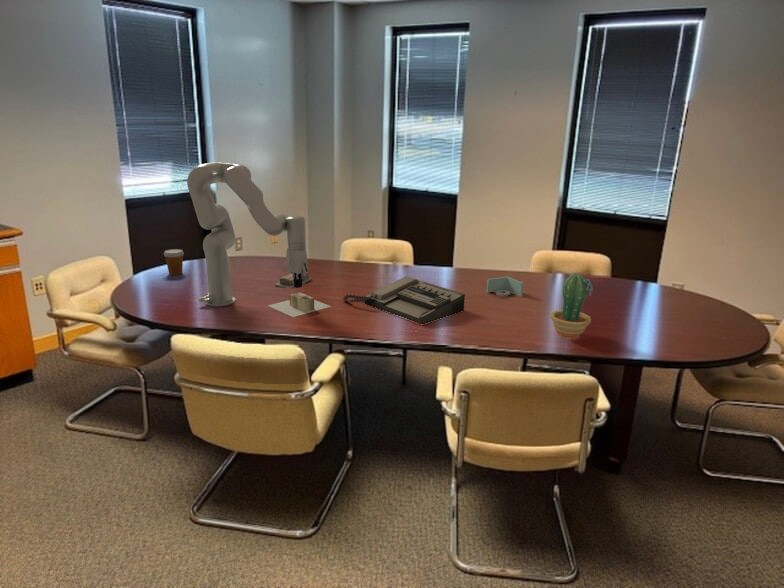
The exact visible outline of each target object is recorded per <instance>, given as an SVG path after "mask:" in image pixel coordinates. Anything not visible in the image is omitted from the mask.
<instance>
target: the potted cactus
mask: <svg viewBox="0 0 784 588" xmlns="http://www.w3.org/2000/svg"><path fill="white" fill-rule="evenodd" d="M588 292H589V294H588ZM593 292H594V288H593V284H592V282H591V280H590V279H589V278H585V277H584V275H582V274H581V273H579V274H577V273H573V274H571V275H570V276H569V277H567V278H566V280H565V281H564V282H563V283H562V298H563V305H562V306H563V307H562V310H561V309H560V310H559V309H558V310H554V311H552V312H550V314H549V315H550V318H551V319H550V320H551V321H552V323H553V327H554V329H555V330H556V333H557V334H556V336H557V335H558V336H560V337H564V338H571V339H575V338H578V337H580V338H581V334H582V333H584V332H585V331H586V329H587V328H588V325H590V324H591V322H592V318H591V316H590V315H588V314H586V313H584V312H581V311H582V307H583V304H584V302H585V300H586V299H587V296H588V295H589V296H591V295H592V293H593ZM558 336H557V337H558ZM560 337H559V338H560Z"/></svg>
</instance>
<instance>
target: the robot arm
mask: <svg viewBox="0 0 784 588" xmlns="http://www.w3.org/2000/svg"><path fill="white" fill-rule="evenodd" d="M186 181H187V182H186V183H187V190H188V191H189V194H190V198H191V201H192V204H193V205H192V206H193V207H194V211H195V214H196V217H197V221H198V224H199V225H200V227H201V228H203V229H204V230H211V231H212V232H210V233H208V234H207V235H206V236H205V237H204V238H203V242H202V248H203V249H202V250H203V251H204V257H205V263H206V271H207V272H206V274H207V286H208V292H207V293H206V295H205V296H202V297H201V296H200V297H198V302H200V303H202V302H204V303H205V304H206V305H207V306H209V307H215V308H216V307H218V308H219V307H220V308H221V307H228V306H231V305H233V304H234V303H235V302H236V297H234V296H232V295H233V293H232V283H231V282H232V279H231V278H232V277H231V266H230V258H229V256H228V252H227V251H228V250H230V249H231V248H233V246H234V245H235V244H236V243H235V242H236V232H235V230H234V227H233V224H232V221H231V217H230V214H229V212H228V210H227V208H225V207H224V206H223V205H222V204H219V203H216V202H215V200H214V195H213V193H212V191H211V190H210V188H209V186H210V185H213V184H214V185H215V184H217V183H221V184H222V183H223V184H226V185H227V186H228V187H229V188H230V189H231V190H232V191H233V192H234V193H235V194H236V195H237V196H238V198H239V199H240V200H241V201H242V202H243V203H244V204H245V205H246V208H247V209H248V211H249V213H250V215H251V217H252V218H253V220H254V221H255V222H256V224H257V225H258V226H259V227H260V228H261V229H262V230H263V231H264V232H265V233H266V234H268V235H269V236H273V237H274V236H275V237H276V236H279V235H281V234H282V233H284V232H287V233H286V234H287V237H286V238H287V248H286V257H285V269H286V270H287V271H288V272H290V274H291V273H292V274H293V278H294V287H293V288H296V289H299V288H302V287H303V284H302V278H303V276H306V272H307V273H308V269H309V268H308V267H309V263H308V255H307V253H308V252H307V245H306V244H307V243H306V219H305V217H304V216H301V215H289V214H288V215H287V214H283V213H278V214H275V215H273V213H272V212H271V211H270V210H269V209H268V207H267V206H266V203H265V202H264V195H263V194H264V193H263V191H262V189H260V188H259V187H258V186H257V185H256V184H255V182H253V180H252V173H251V170H250V169H249V168H248V167H247V166H246V165H244V164H237V163H236V164H235V163H230V162H229V163H227V162H218V161H213V162H208V163H201V164H200V165H199V164H198V165H197V166H195V167H194V168H193V169H191V170H190V172H189V174H188V176H187V180H186Z"/></svg>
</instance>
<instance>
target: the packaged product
mask: <svg viewBox="0 0 784 588" xmlns="http://www.w3.org/2000/svg"><path fill="white" fill-rule="evenodd" d="M312 280H313V279H312V277H309V273H308V271H307V272H306V276H303V278H302V285H304V284H306V283H307V282H309V281H312ZM274 286H275V287H277V286H278V287H279V288H282V287H283V288H284V289H287V288H290V289H292V288H295V287H294V278H293V274H292V273H291V272H290V273H289V274H286V275H284V276H281V277H280V278H279V281H278V282H276V283H274Z"/></svg>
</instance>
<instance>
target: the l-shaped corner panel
mask: <svg viewBox="0 0 784 588" xmlns="http://www.w3.org/2000/svg"><path fill="white" fill-rule="evenodd" d="M524 284H525V283H524V282H523V281H519V280H517V279H515V278H512V277H510V276H501V277H493V278H488V279H487V281H486V292H494V291H496V292H494V293H495V295H496V294H497V295H501V296H506V297H509V296H508V295H511V294H512V293H514V294H516V295H515V296H517V295H519V296H522V297H523V294H524ZM506 290H507V291H506ZM509 291H510V292H509ZM501 292H502V293H501ZM511 292H512V293H511ZM503 293H505V294H503ZM514 294H513V295H514ZM497 295H496V296H497ZM501 296H500V297H501ZM519 296H518V297H519Z"/></svg>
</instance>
